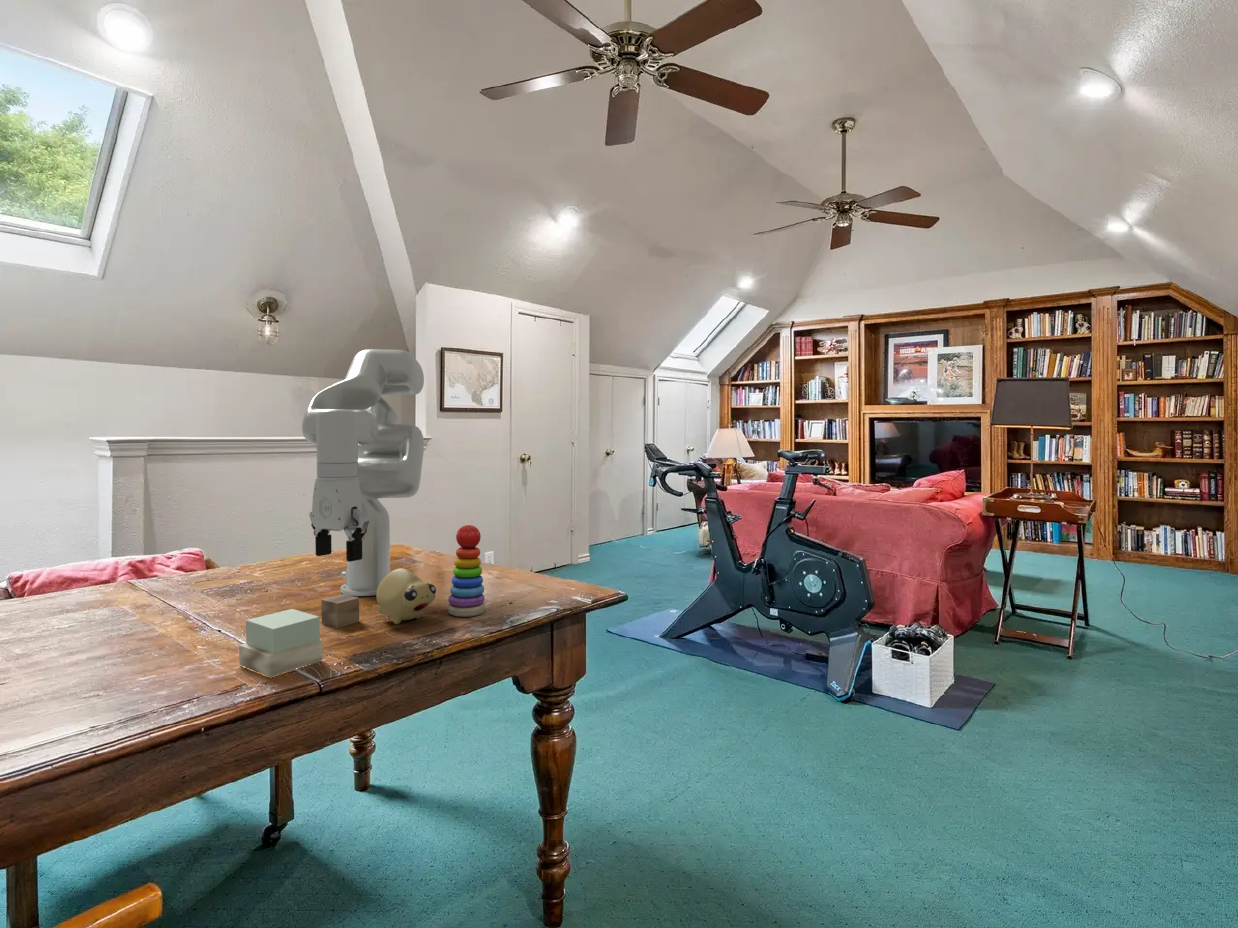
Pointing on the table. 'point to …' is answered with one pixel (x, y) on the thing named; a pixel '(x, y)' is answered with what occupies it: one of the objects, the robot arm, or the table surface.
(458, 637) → the table surface
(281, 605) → the table surface
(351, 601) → the walnut cube
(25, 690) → the table surface
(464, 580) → the stacking toy
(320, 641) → the base block
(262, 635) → the top block
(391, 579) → the toy frog
